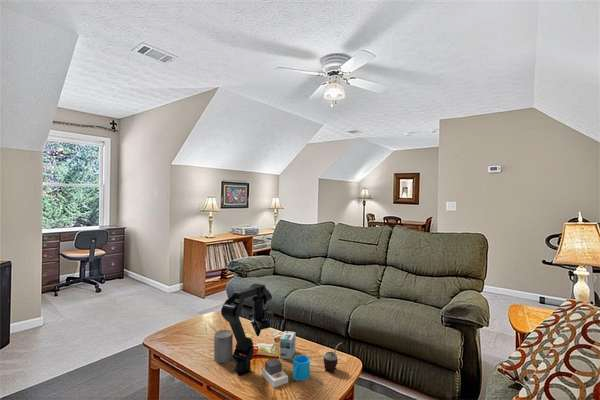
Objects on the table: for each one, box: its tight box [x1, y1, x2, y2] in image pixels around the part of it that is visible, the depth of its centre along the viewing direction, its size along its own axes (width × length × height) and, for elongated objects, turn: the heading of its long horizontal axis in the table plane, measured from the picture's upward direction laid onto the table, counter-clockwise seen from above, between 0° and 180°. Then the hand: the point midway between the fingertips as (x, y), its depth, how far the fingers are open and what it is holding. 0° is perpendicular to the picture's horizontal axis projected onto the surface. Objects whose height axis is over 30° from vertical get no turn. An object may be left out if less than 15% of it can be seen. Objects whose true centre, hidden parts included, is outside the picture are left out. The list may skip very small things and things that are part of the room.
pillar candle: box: [213, 329, 234, 364], centre depth 169 cm, size 10×10×15 cm
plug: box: [264, 357, 283, 375], centre depth 153 cm, size 6×6×7 cm
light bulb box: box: [279, 330, 297, 360], centre depth 175 cm, size 11×7×11 cm, turn 168°
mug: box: [292, 354, 311, 381], centre depth 152 cm, size 12×8×8 cm
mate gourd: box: [323, 342, 343, 374], centre depth 160 cm, size 8×8×15 cm
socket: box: [261, 367, 289, 389], centre depth 151 cm, size 8×12×4 cm, turn 33°
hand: (257, 336), depth 170 cm, fingers closed
